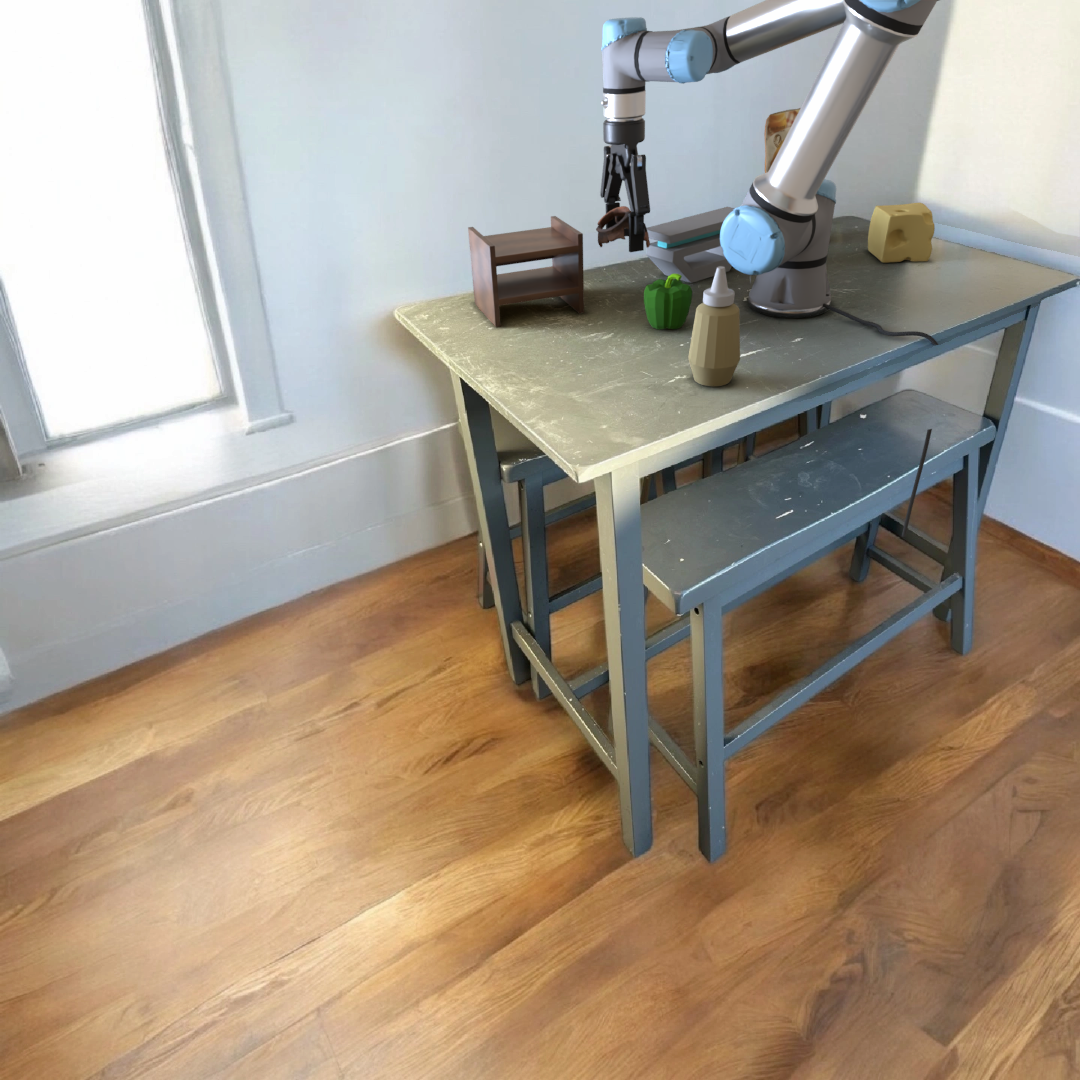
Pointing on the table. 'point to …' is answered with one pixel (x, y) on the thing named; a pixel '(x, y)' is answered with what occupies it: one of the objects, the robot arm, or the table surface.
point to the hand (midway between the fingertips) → (624, 244)
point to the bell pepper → (667, 302)
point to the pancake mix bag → (777, 133)
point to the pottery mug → (616, 226)
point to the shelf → (527, 284)
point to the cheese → (901, 232)
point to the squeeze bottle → (715, 335)
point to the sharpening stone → (689, 245)
